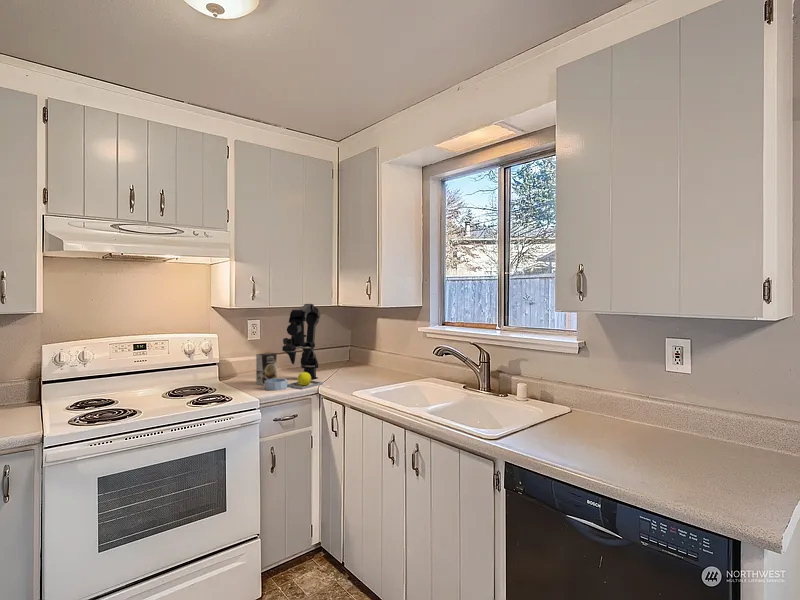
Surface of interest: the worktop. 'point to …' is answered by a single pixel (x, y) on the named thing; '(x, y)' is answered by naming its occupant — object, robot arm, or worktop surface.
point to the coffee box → (266, 367)
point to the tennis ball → (304, 378)
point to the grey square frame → (304, 386)
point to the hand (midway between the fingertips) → (299, 362)
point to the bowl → (276, 384)
